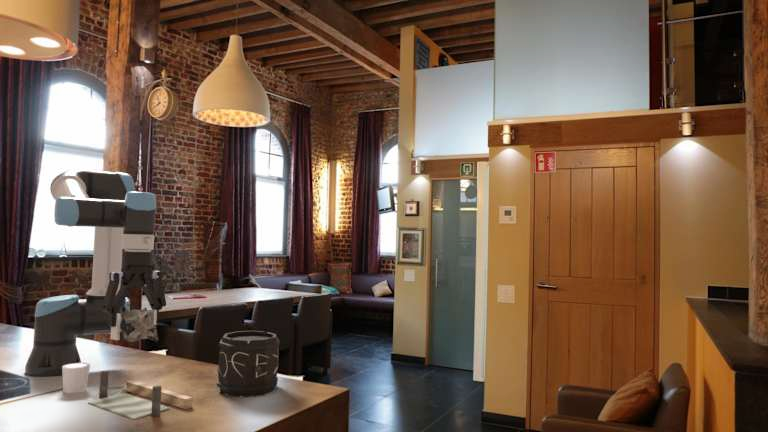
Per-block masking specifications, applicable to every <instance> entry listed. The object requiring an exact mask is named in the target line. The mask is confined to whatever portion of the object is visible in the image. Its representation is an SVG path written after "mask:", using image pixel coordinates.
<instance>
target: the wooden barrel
mask: <svg viewBox="0 0 768 432" xmlns="http://www.w3.org/2000/svg"><path fill="white" fill-rule="evenodd" d="M279 346H280V339H279V338H278V335H277V334H276V333H275V332H274V333H273V332H270V331H269V332H268V331H267V332H266V331H263V330H237V331H233V332H227V333H224V334H223V336H222V338H221V339H220V341H219V343H218V347H220V348H219V352H218V353H219V354H218V358H217V359H218V361H217V362H218V364H217V373H218V377H217V378H218V380H217V382H216V387H217V388H219V392H220V393H223V394H224V395H226V394H227V395H226V396H228V395H230V397H238V396H243V397H242V398H249V397H250V398H251V396H252V397H260V396H264V395H267V394H269V393H273V392H274V391H275V387H277V385H278V379H279V377H278V370H279Z"/></svg>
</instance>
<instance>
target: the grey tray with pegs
mask: <svg viewBox="0 0 768 432" xmlns="http://www.w3.org/2000/svg"><path fill="white" fill-rule="evenodd" d="M99 374H100V375H99V377H100V379H99V393H98V394H99V395H98V399H93V400H89V401H88V402H87V404H89V405H91V406H94V407H97V408H99V409H103V410H106V411H108V412H111V413H114V414H117V415H120V416H123V417H125V418H128V419H131V420H136V419H140V418H144V417H147V416H148V417H149V416H150V415H151V416H150V417H152V418H157V417H160V416H161V412H165V411H168V410H170V408H171V407H168V406H166V405H162V404H161V403H164V404H168V405H171V406H175V407H177V408H181V409H184V410H187V409H190V408H192V406H193V397H192V396H188V395H185V394H182V393H178V392H175V391H171V390H168V389H165V388H162V385H150V384H147V383H144V382H140V381H137V380H134V379H133V380H128V381H126V384H125V385H126V390H125V391H126V392H128V393H129V392H130V393H133V394H135V395H139V396H142V397H146V398H148V399H151V401H150V400H147V399H144V398H139V397H137V396H134V395H131V394H127V393H119V394H114V395H109V393H108V392H109V379H110V378H109V375H110V372H109V370H101V371H100V373H99ZM108 395H109V396H108Z"/></svg>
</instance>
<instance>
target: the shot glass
mask: <svg viewBox="0 0 768 432" xmlns="http://www.w3.org/2000/svg"><path fill="white" fill-rule="evenodd" d="M90 367H91V364H90V363H88V362H81V363H71V364H66V365H63V366H62V374H61V376H62V391H63V393H65V394H77V393H83V392H85V391H86V390H87V387H88V381H89V375H90V374H89V373H90Z"/></svg>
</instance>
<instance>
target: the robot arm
mask: <svg viewBox="0 0 768 432" xmlns="http://www.w3.org/2000/svg"><path fill="white" fill-rule="evenodd" d="M49 187H50V188H49V189H50V194H51V196H52V198H53V199H54V201H55V203H54V222H55V224H56V225H58V226H67V227H70V228H71V227H93V228H94V238H93V239H94V240H93V260H92V271H91V272H92V276H91V288H90V289H89V290H88V291H87V292H86V293H85V298H84V299H83V298H80V297H79V295H77V294H65V295H57V296H51V297H46V298H43V299H40V300H39V301H38V302H37V303H36V304H35V305H36V306H35V313H34V318H35V319H34V329H33V330H34V331H33V333H34V334H33V346H32V349H31V351H30V354H29V357H28V358H27V362H26V363H25V368H24V369H25V372H24V373H25V374H26V375H29V376H36V377H50V376H51V377H52V376H59V375H61V376H62V366H63V365H66V364H71V363H82V359H81V357H80V353H79V350H78V348H77V336H89V335H90V336H91V335H102V334H106V335H110V340H114V341H120V334H121V332H123V331H122V330H121V329H120V323H121V321H122V318H121V313H120V308H121V307H122V306H124V307H125V308H126V309H127V310H129V311H131V307H130V306H131V305H130V304H131V301H130V298H128V295H129V292H130V291H131V290H132V289H133V288H135V287H140V288H141V289H142V291H143V293H144V295H145V297H146V300H147V301H148V305H149V306H150V308H147V311H148V313H149V314H150V316H151V327H153V326H154V325H156V326H157V322H158V321H159V319H160V311H161V310H162V309H163V308H164V307H166V306H167V301H166V300H167V299H166V295H165V289H164V284H163V271H162V270H153V265H154V252H153V250H154V249H155V248H154V246H155V231H156V230H155V227H156V210H157V195H156V194H155V193H153V192H148V191H147V192H145V191H136V186H135V182H134V178H133V177H132V175H131V174H129V173H127V172H121V171H111V170H98V169H95V170H94V169H88V168H87V169H85V168H76V169H75V168H74V169H70V170H66V171H64V172H61V173H59V174H58V175H56V176H55V178H53V180H52V182H51V183H50V186H49ZM123 250H124V251H123ZM151 278H152V283H151V280H150V279H151ZM121 280H122V281H121Z"/></svg>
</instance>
